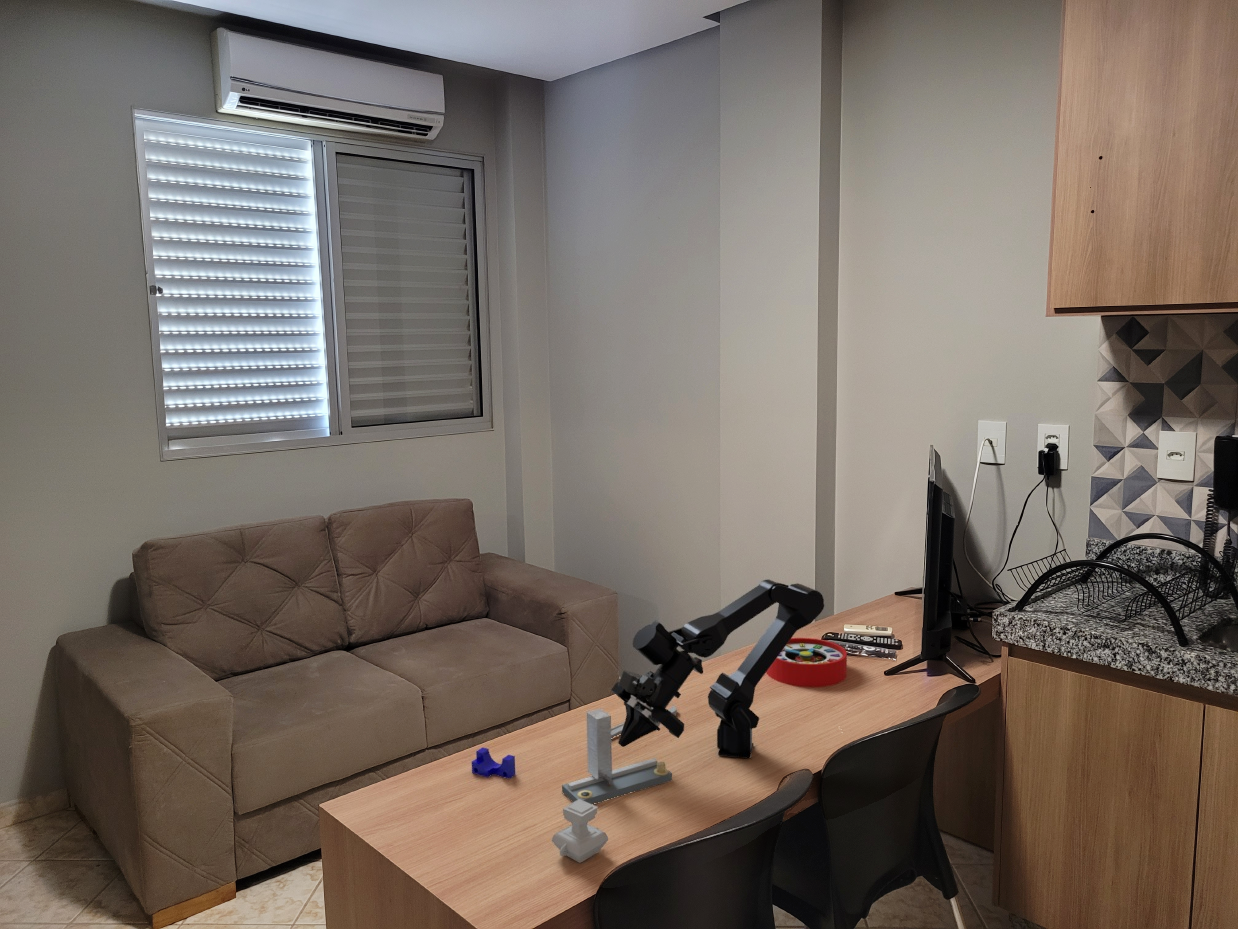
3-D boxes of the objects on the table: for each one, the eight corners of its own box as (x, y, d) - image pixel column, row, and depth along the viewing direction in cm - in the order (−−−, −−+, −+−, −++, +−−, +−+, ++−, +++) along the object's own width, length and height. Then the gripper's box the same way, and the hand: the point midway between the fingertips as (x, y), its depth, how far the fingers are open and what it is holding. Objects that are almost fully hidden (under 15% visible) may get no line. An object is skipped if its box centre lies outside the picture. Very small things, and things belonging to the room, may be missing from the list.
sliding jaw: (601, 771, 171) (600, 708, 169) (618, 785, 166) (617, 720, 164) (587, 775, 170) (586, 711, 168) (604, 789, 164) (603, 723, 162)
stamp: (585, 835, 152) (584, 789, 151) (613, 850, 148) (613, 802, 147) (546, 858, 146) (545, 810, 145) (574, 874, 141) (573, 824, 140)
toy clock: (827, 670, 211) (751, 654, 223) (827, 694, 212) (751, 677, 224) (859, 646, 227) (786, 633, 239) (858, 669, 228) (786, 654, 240)
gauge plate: (652, 766, 177) (652, 751, 177) (672, 780, 171) (672, 765, 171) (562, 792, 167) (561, 777, 167) (579, 809, 161) (579, 792, 161)
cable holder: (472, 773, 176) (471, 754, 175) (483, 766, 179) (482, 747, 178) (504, 783, 172) (503, 763, 171) (515, 775, 174) (514, 756, 174)
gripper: (619, 641, 179) (570, 706, 175) (670, 670, 163) (618, 742, 159) (652, 672, 184) (606, 735, 180) (705, 702, 168) (656, 773, 164)
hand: (620, 745), depth 170 cm, fingers closed
